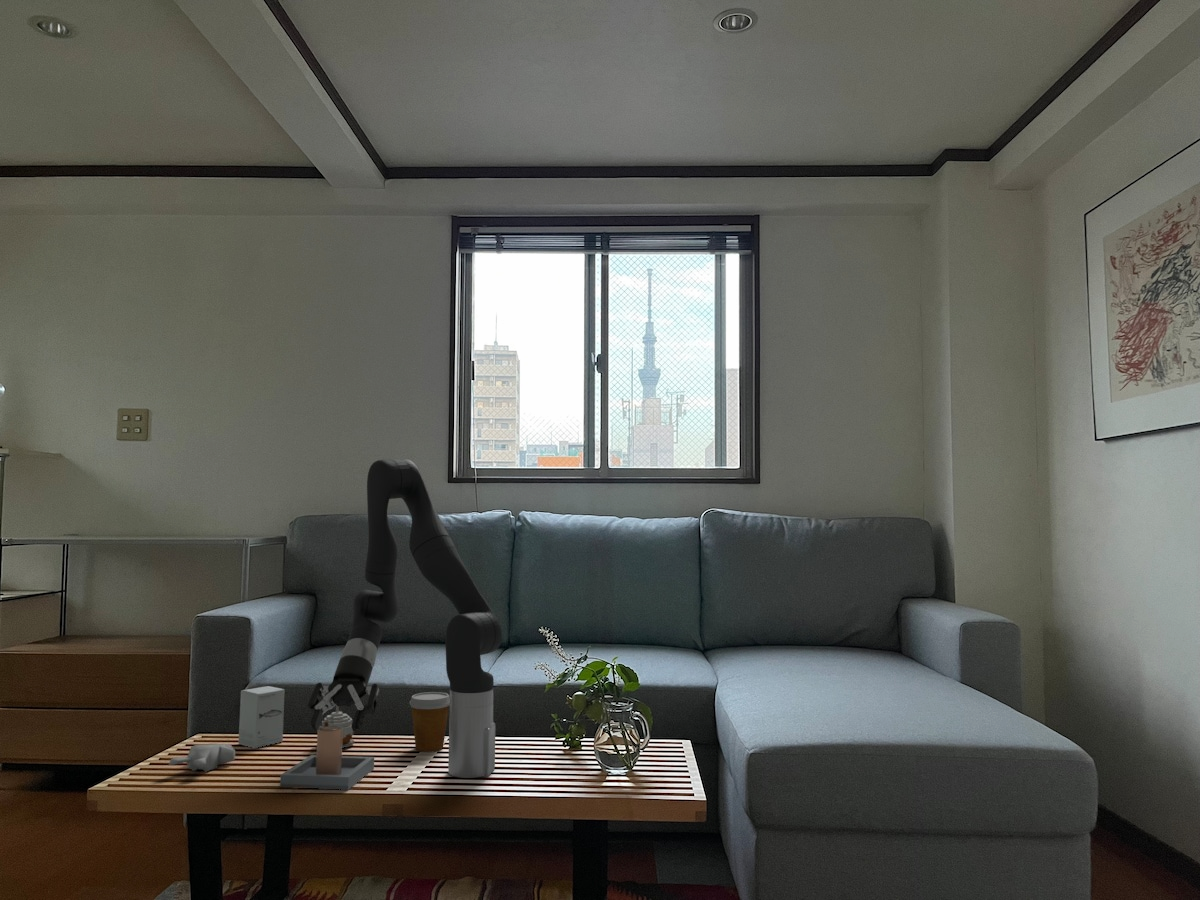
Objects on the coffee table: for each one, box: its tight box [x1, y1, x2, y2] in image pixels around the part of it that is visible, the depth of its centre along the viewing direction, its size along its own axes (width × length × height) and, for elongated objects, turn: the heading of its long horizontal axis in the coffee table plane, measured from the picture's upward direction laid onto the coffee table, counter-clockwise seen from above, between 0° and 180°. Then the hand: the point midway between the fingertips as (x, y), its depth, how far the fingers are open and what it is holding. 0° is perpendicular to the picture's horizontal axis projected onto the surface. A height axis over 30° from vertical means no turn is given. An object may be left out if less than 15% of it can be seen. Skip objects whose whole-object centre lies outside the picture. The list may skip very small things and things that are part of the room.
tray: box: [279, 754, 375, 791], centre depth 172 cm, size 14×14×2 cm
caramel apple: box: [319, 705, 355, 749], centre depth 196 cm, size 8×8×15 cm
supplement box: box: [238, 685, 285, 749], centre depth 199 cm, size 7×7×13 cm
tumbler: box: [316, 726, 343, 775], centre depth 173 cm, size 5×5×9 cm
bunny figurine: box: [168, 743, 236, 772], centre depth 179 cm, size 10×5×15 cm
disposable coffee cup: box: [409, 691, 450, 753], centre depth 195 cm, size 10×10×12 cm
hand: (334, 729), depth 175 cm, fingers open, 8 cm apart
